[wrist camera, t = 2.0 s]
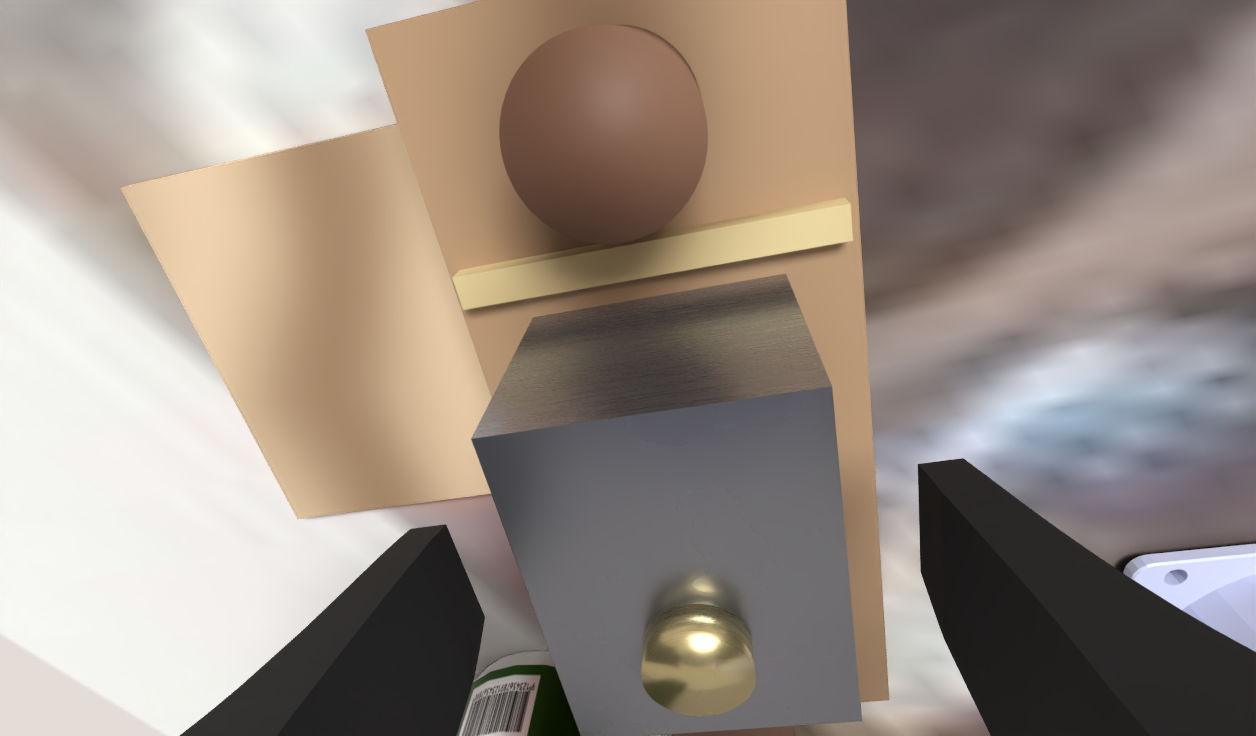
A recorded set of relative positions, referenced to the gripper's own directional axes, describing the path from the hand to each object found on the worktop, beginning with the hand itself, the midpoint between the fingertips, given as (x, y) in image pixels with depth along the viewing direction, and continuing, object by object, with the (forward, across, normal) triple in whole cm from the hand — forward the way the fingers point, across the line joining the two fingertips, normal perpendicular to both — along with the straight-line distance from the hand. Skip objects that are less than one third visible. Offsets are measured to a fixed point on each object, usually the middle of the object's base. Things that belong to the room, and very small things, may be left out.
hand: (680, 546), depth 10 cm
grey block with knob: (+3, 0, 0) cm, 3 cm away
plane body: (+6, 0, 0) cm, 6 cm away
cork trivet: (+6, +7, -2) cm, 10 cm away
